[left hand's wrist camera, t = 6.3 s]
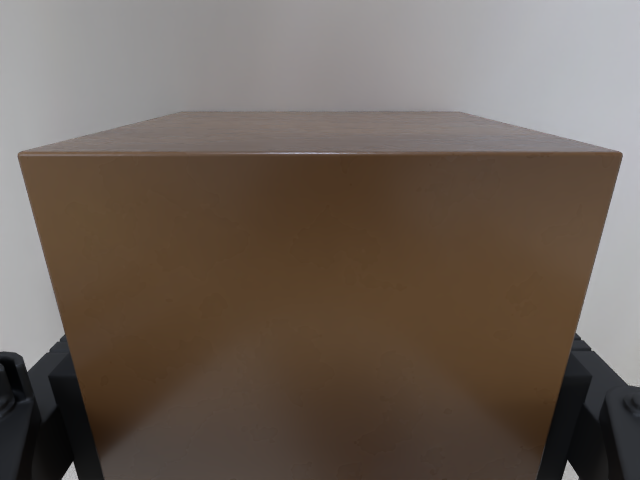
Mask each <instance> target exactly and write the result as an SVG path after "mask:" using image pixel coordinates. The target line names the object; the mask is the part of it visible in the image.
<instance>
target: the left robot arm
mask: <svg viewBox="0 0 640 480" xmlns="http://www.w3.org/2000/svg"><path fill="white" fill-rule="evenodd" d="M567 460H568V461H569V462H570V464H571V465H572V467H573V469H574V470H575V472H576V473H577V475H578V476H579V479H578V480H640V387H635V386H628V385H627V384H626V383H625V382H624V381H623V380H622V379H621V378H620V377H619V376H618V375H617V374H616V373H615V372H614V371H613V370H612V369H611V368H610V367H609V366H608V365H607V364H606V363H605V362H604V361H603V360H602V359H601V358H600V357H599V356H598V355H597V354H596V353H595V352H594V351H591V348H590V347H589V346H588V345H587V344H586V343H585V342H584V341H583V340H581V338H580V337H579V336H578V335H577V334H576V333H575V336H574V340H573V344H572V348H571V351H570V355H569V359H568V363H567V366H566V370H565V374H564V377H563V381H562V385H561V389H560V392H559V396H558V400H557V404H556V407H555V411H554V415H553V419H552V422H551V426H550V430H549V434H548V437H547V441H546V445H545V449H544V452H543V456H542V460H541V464H540V467H539V471H538V475H537V478H536V480H562V476H563V473H564V470H565V466H566V463H567ZM72 462H74V465H75V469H76V472H77V475H78V479H79V480H104V477H103V473H102V469H101V466H100V462H99V458H98V455H97V451H96V447H95V443H94V440H93V436H92V432H91V428H90V425H89V421H88V417H87V413H86V410H85V406H84V402H83V399H82V395H81V391H80V387H79V384H78V380H77V376H76V372H75V369H74V365H73V361H72V357H71V354H70V350H69V346H68V342H67V339H66V335H64V336H63V337H62V338H61V339H60V342H57V343H56V344H55V345H54V346H53V347H52V348H51V349H50V351H49V353H46V354H45V355H44V356H43V357H42V358H41V359H40V360H39V361H38V362H37V363H36V364H35V365H34V366H33V367H32V368H31V369H30V370H29V371H28V372H27V370H26V367H25V364H24V360H23V357H22V356H20V355H18V354H17V353H14V352H0V480H62V477H63V476H64V474H65V473H66V471H67V470H68V468H69V467H70V465H71V463H72Z"/></svg>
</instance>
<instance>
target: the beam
mask: <svg viewBox="0 0 640 480" xmlns="http://www.w3.org/2000/svg"><path fill="white" fill-rule="evenodd" d="M622 157H623V155H622V153H621V152H619V151H615V150H611V149H607V148H603V147H599V146H595V145H591V144H587V143H583V142H579V141H575V140H571V139H567V138H563V137H559V136H555V135H551V134H547V133H543V132H539V131H534V130H530V129H526V128H522V127H518V126H514V125H510V124H506V123H502V122H498V121H494V120H490V119H486V118H482V117H478V116H474V115H470V114H466V113H462V112H179V113H175V114H171V115H167V116H163V117H159V118H155V119H151V120H147V121H143V122H139V123H135V124H130V125H126V126H122V127H118V128H114V129H110V130H106V131H102V132H98V133H94V134H90V135H86V136H82V137H78V138H74V139H70V140H66V141H62V142H58V143H54V144H50V145H46V146H42V147H38V148H33V149H29V150H25V151H22V152H19V153H18V160H19V163H20V167H21V171H22V174H23V178H24V182H25V186H26V189H27V193H28V197H29V201H30V204H31V208H32V212H33V216H34V219H35V223H36V227H37V230H38V234H39V238H40V242H41V245H42V249H43V253H44V257H45V260H46V264H47V268H48V272H49V275H50V279H51V283H52V286H53V290H54V294H55V298H56V301H57V305H58V309H59V313H60V316H61V320H62V324H63V328H64V331H65V335H66V339H67V342H68V346H69V350H70V354H71V357H72V361H73V365H74V369H75V372H76V376H77V380H78V384H79V387H80V391H81V395H82V399H83V402H84V406H85V410H86V413H87V417H88V421H89V425H90V428H91V432H92V436H93V440H94V443H95V447H96V451H97V455H98V458H99V462H100V466H101V469H102V473H103V477H104V480H536V478H537V475H538V471H539V467H540V464H541V460H542V456H543V452H544V449H545V445H546V441H547V437H548V434H549V430H550V426H551V422H552V419H553V415H554V411H555V407H556V404H557V400H558V396H559V392H560V389H561V385H562V381H563V377H564V374H565V370H566V366H567V363H568V359H569V355H570V351H571V348H572V344H573V340H574V336H575V333H576V329H577V325H578V321H579V318H580V314H581V310H582V306H583V303H584V299H585V295H586V291H587V288H588V284H589V280H590V277H591V273H592V269H593V265H594V262H595V258H596V254H597V250H598V247H599V243H600V239H601V235H602V232H603V228H604V224H605V220H606V217H607V213H608V209H609V205H610V202H611V198H612V194H613V191H614V187H615V183H616V179H617V176H618V172H619V168H620V164H621V161H622Z"/></svg>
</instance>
